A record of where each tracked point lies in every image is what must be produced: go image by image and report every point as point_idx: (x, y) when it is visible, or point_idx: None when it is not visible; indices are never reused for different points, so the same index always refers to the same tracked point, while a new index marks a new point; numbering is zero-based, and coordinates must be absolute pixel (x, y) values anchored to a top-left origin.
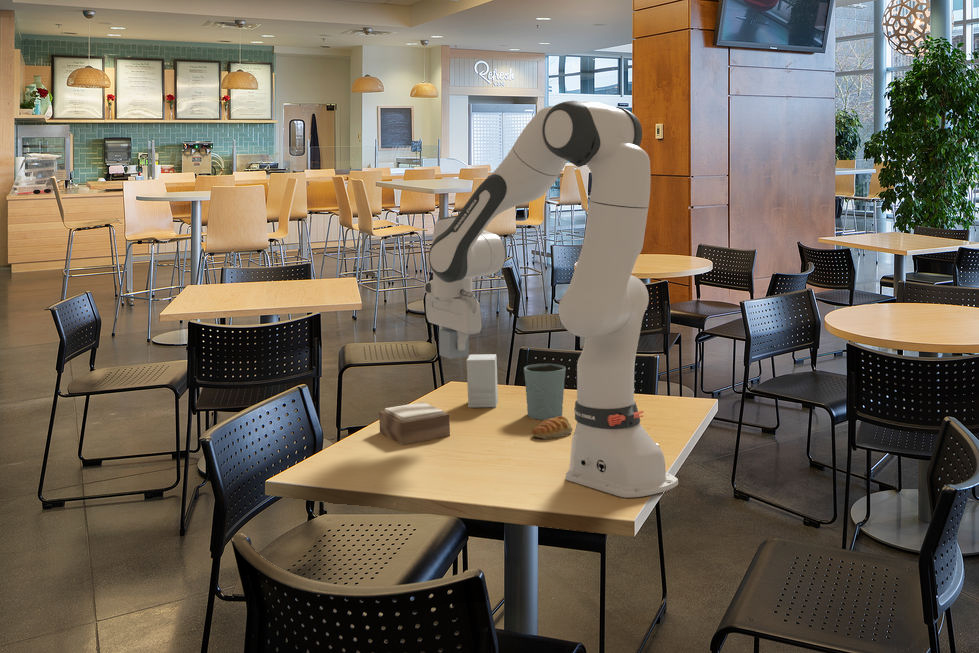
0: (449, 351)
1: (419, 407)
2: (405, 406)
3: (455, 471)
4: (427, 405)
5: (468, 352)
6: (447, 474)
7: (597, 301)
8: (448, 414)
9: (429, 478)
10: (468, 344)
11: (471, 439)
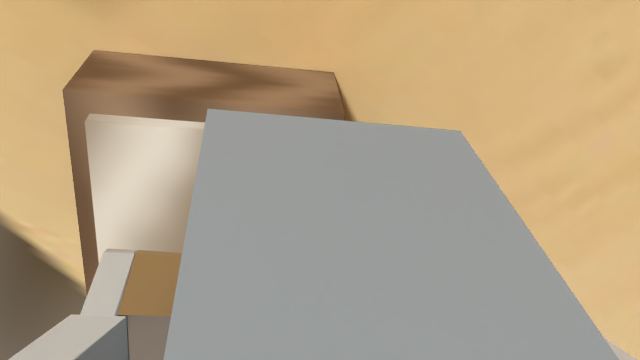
0: None
1: (185, 189)
2: (124, 225)
3: (635, 258)
4: (172, 142)
5: (475, 158)
6: (630, 283)
7: None
8: (342, 116)
9: (608, 324)
10: (514, 213)
11: (443, 34)
